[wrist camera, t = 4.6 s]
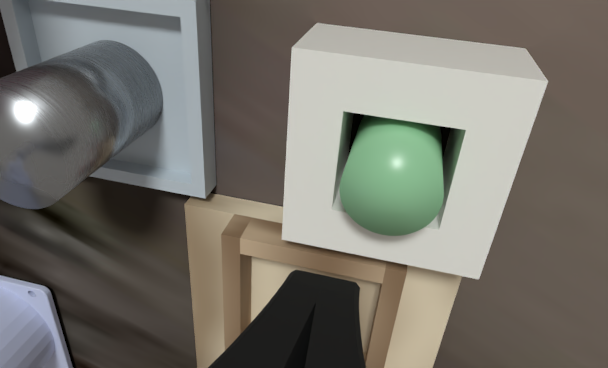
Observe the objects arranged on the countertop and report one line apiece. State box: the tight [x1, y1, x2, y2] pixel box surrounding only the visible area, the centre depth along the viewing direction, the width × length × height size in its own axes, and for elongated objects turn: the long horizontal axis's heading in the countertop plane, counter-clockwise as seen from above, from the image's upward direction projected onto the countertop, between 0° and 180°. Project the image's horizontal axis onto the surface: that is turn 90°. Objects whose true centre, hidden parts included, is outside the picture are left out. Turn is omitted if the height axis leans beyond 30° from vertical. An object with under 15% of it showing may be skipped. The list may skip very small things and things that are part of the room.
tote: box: [0, 0, 216, 199], centre depth 19 cm, size 8×8×1 cm
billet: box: [0, 40, 163, 209], centre depth 17 cm, size 4×4×6 cm
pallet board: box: [185, 193, 462, 368], centre depth 23 cm, size 12×14×3 cm
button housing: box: [282, 23, 548, 279], centre depth 16 cm, size 7×7×4 cm
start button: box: [339, 115, 444, 236], centre depth 15 cm, size 3×3×4 cm
